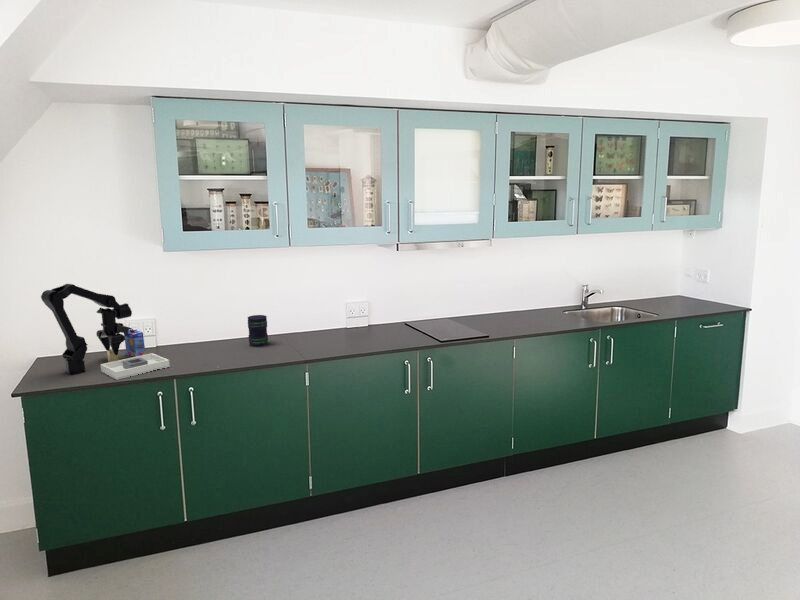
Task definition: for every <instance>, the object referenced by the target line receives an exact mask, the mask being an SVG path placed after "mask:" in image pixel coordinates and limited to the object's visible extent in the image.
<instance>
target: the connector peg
mask: <svg viewBox="0 0 800 600" xmlns="http://www.w3.org/2000/svg"><path fill="white" fill-rule="evenodd" d="M106 353H107V354H106V355H107V356H106V357H107V363H109V362H114V361H118V360H120V359H119V354H118V355H115V354H114V352H113V350H112V348H110V350H106Z"/></svg>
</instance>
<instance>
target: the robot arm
mask: <svg viewBox="0 0 800 600" xmlns="http://www.w3.org/2000/svg"><path fill="white" fill-rule="evenodd" d="M71 294H72V295H74V296H78V297H81V298H84V299H85V300H86V299H87V300H90V301H92V302H94V304H96V305H98V306H100V307H99V309H97V311H96V313H97V314H101V323H100V325H101V326H102V329H98V330H97V331H96V332H95V333H96V337H97V338H98V339H99V341H100V343H101V344H102V346H103V347H104V349H105V351H107V350H110V349H112V350H113V352H114V354H115V355H118V356H119V350H120V346H121V344H122V343H123V342H125V336H124V333H125V334H128V332H129V330H130V329H129V328H130V327H128V326H126V325H124V323H121V322H116V321H117V320H121V319H127V318H130V317H132V315H133V313H132V312H133V310H132V309H131V307H130V306H129V303H127V302H126V303H123V304H119V303H118V301H117V300H116V297H115V296H114V295H111V294H104V293H98V292H95V291H91V290H89V289H86V288H83V287H81V286H77V285H75V284H73V283H65V284H63V285H61V286H57V287H55V288H52V289H46V290H44V291H43V292H42V293H41V295H40V298H41V301H42V302H43V304H44V305H45V306H46V307H47V308H48V309H49V310H50V311H51V312H52V314H53V315H54V318H55V320H56V321H57V324H58V326H59V328H60V329H61V332H62V334H63V336H64V337H65V347H66V349H65V350H64V352H63V353H62V354H61V355H62V358H63V359H65V369H66V370H65V373H66V374H68V375H70V376H71V375H75V374H80V373H84V372H86V365H85V360H84V359H85V356H86V353H87V351H88V346H89V344H87V342H86V340H85V337H83V336H79V335H78V334H77V332H76V330H75V328H74V326H73V324H72V322H71V320H70V318H69V316H68V313H67V312H66V310H65V308H64V307H65V306H64V304H65V303H64V301H65V299H66V298H68V297H69V296H70V295H71ZM102 307H103V308H102ZM116 319H117V320H116Z"/></svg>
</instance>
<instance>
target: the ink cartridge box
mask: <svg viewBox="0 0 800 600" xmlns="http://www.w3.org/2000/svg"><path fill="white" fill-rule="evenodd" d="M123 335H124V336H125V340H124V345H125V346H124V347H125V354H126V356H129V355H130V356H129V357H131V356H133V357H137V356H142V355H146V354H147V353H146V347H145V346H146V345H145V340H144V339H145V337H144V332H143V331H140V330H137V329H133V328H132V327H129V332H128V334H125V333H123Z"/></svg>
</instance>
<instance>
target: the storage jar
mask: <svg viewBox="0 0 800 600" xmlns="http://www.w3.org/2000/svg"><path fill="white" fill-rule="evenodd" d="M267 318H268V316H267V315H264V314H255V315H249V316H247V327H248V343H249V344H248V345H249V347H251V348H263V347H267V346H268V345H269V343H268V342H269V336H268V335H269V334H268V329H267V328H268V320H267Z"/></svg>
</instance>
